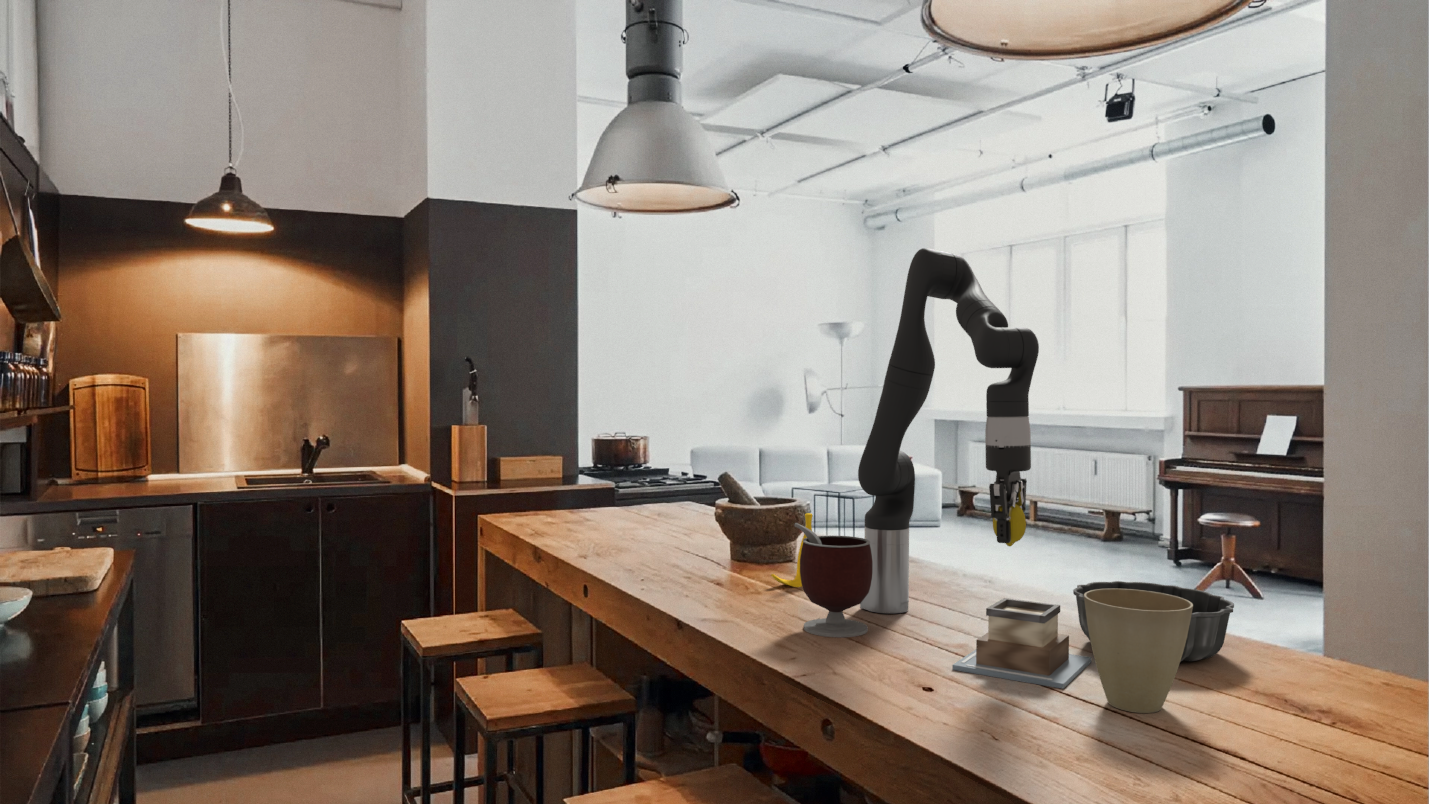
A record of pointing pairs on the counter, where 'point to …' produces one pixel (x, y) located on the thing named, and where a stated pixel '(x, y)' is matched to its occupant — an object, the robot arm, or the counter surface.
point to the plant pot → (1137, 644)
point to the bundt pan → (1205, 617)
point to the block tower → (1023, 637)
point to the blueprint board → (1056, 679)
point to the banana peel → (797, 579)
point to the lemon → (1014, 525)
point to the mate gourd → (835, 580)
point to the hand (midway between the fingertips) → (1009, 540)
